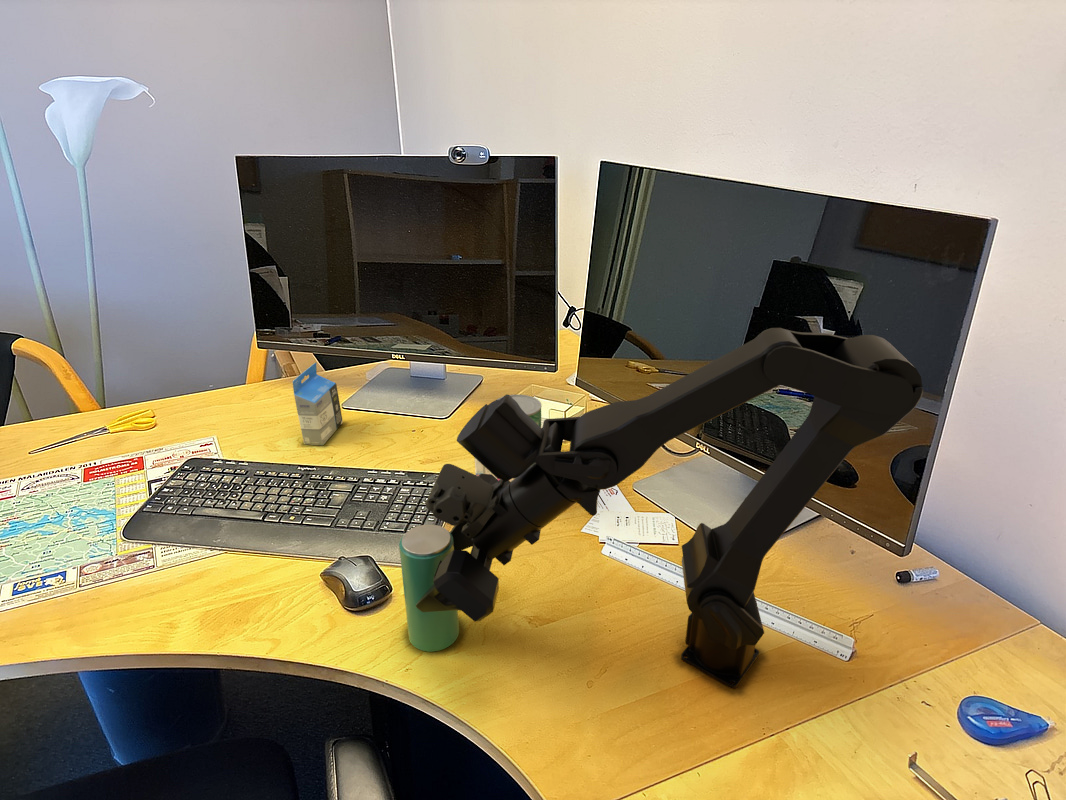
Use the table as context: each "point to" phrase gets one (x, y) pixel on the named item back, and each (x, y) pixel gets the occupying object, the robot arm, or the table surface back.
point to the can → (426, 586)
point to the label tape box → (317, 406)
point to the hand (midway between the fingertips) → (430, 579)
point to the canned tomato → (529, 407)
